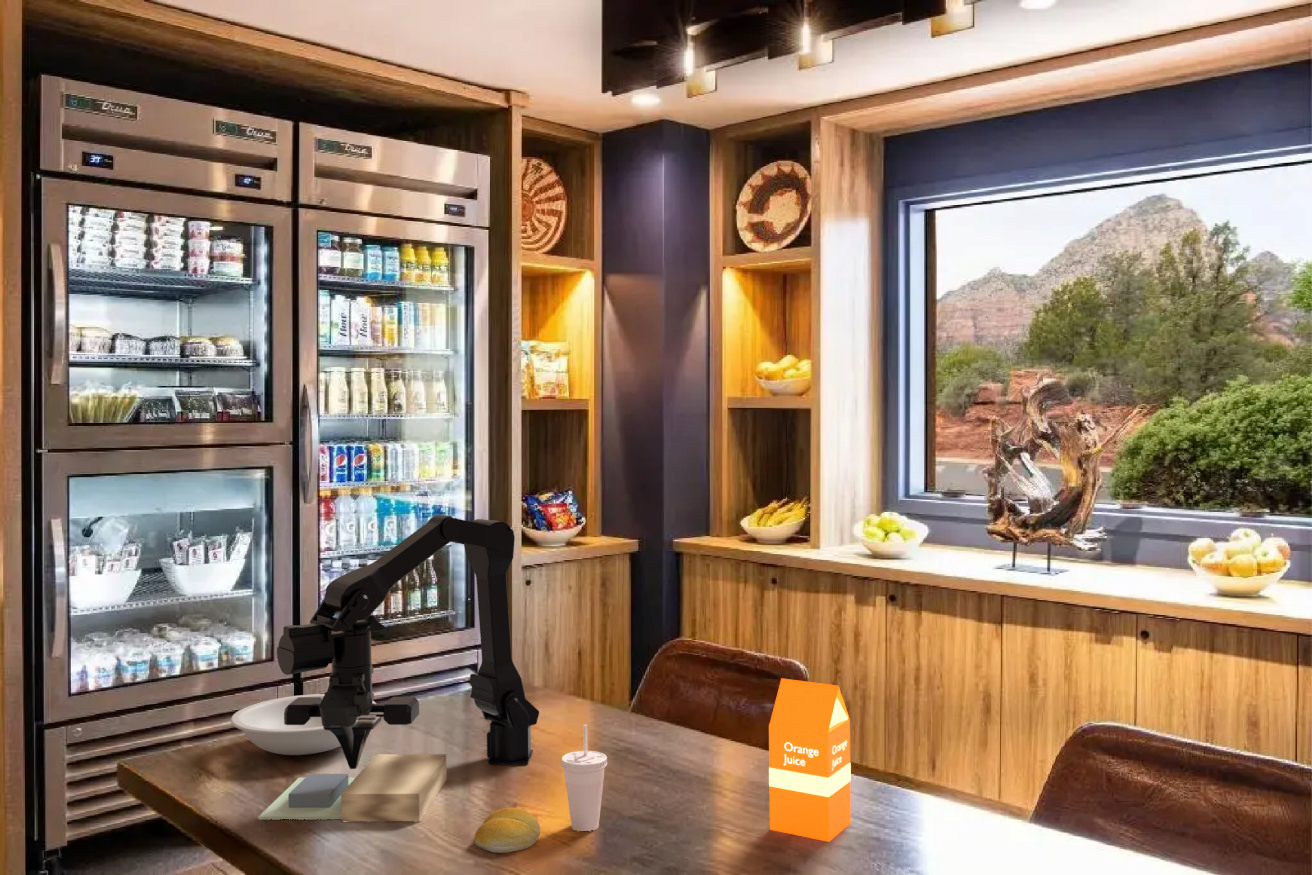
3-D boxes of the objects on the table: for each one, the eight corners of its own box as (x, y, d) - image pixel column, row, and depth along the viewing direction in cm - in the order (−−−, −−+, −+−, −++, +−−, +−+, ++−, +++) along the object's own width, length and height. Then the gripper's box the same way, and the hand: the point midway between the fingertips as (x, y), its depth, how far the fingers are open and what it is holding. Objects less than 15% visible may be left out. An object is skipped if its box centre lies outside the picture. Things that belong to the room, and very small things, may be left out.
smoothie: (615, 821, 160) (613, 721, 160) (598, 837, 154) (596, 734, 153) (573, 816, 162) (571, 718, 162) (554, 832, 156) (552, 730, 156)
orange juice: (829, 842, 151) (827, 692, 151) (768, 829, 156) (767, 684, 155) (851, 823, 158) (850, 679, 157) (793, 811, 163) (792, 672, 162)
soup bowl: (356, 771, 183) (355, 730, 183) (208, 772, 184) (207, 731, 184) (394, 729, 207) (393, 693, 207) (262, 730, 208) (261, 693, 208)
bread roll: (467, 854, 150) (467, 823, 150) (489, 828, 158) (489, 800, 158) (528, 857, 148) (528, 826, 148) (547, 831, 157) (546, 802, 157)
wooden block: (446, 779, 179) (446, 754, 179) (419, 821, 161) (418, 793, 161) (376, 779, 179) (376, 754, 179) (341, 821, 161) (341, 793, 161)
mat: (374, 779, 179) (374, 777, 179) (341, 819, 162) (341, 816, 162) (298, 779, 179) (298, 777, 179) (258, 819, 162) (258, 816, 162)
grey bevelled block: (309, 773, 175) (309, 786, 175) (288, 793, 166) (288, 807, 166) (348, 773, 175) (348, 786, 175) (329, 793, 166) (329, 807, 166)
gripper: (269, 676, 162) (271, 786, 162) (400, 676, 161) (402, 786, 161) (296, 659, 173) (298, 761, 173) (419, 658, 172) (420, 761, 173)
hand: (353, 768), depth 170 cm, fingers closed
